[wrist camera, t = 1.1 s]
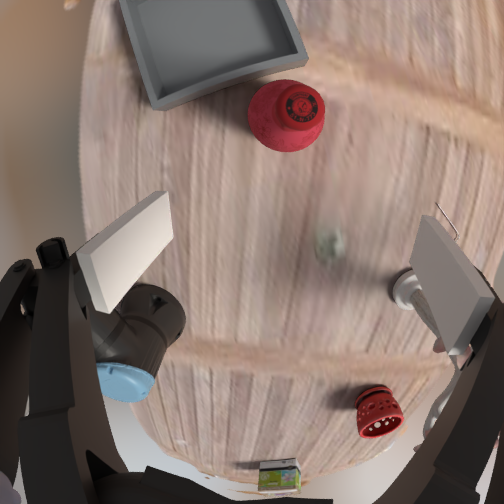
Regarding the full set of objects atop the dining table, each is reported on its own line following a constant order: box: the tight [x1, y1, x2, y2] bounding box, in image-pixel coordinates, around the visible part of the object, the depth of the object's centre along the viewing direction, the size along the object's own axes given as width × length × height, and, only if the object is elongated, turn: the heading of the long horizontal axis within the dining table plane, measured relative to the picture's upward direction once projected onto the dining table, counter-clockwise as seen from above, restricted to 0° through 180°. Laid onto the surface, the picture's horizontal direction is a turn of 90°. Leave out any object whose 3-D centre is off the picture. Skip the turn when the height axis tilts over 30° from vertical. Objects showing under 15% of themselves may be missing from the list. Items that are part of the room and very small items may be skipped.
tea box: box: [258, 459, 301, 496], centre depth 87 cm, size 15×10×15 cm
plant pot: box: [355, 387, 404, 438], centre depth 66 cm, size 13×13×12 cm
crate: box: [119, 0, 309, 111], centre depth 34 cm, size 24×24×6 cm
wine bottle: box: [248, 79, 325, 152], centre depth 30 cm, size 10×10×30 cm
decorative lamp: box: [393, 204, 504, 452], centre depth 37 cm, size 28×24×40 cm
